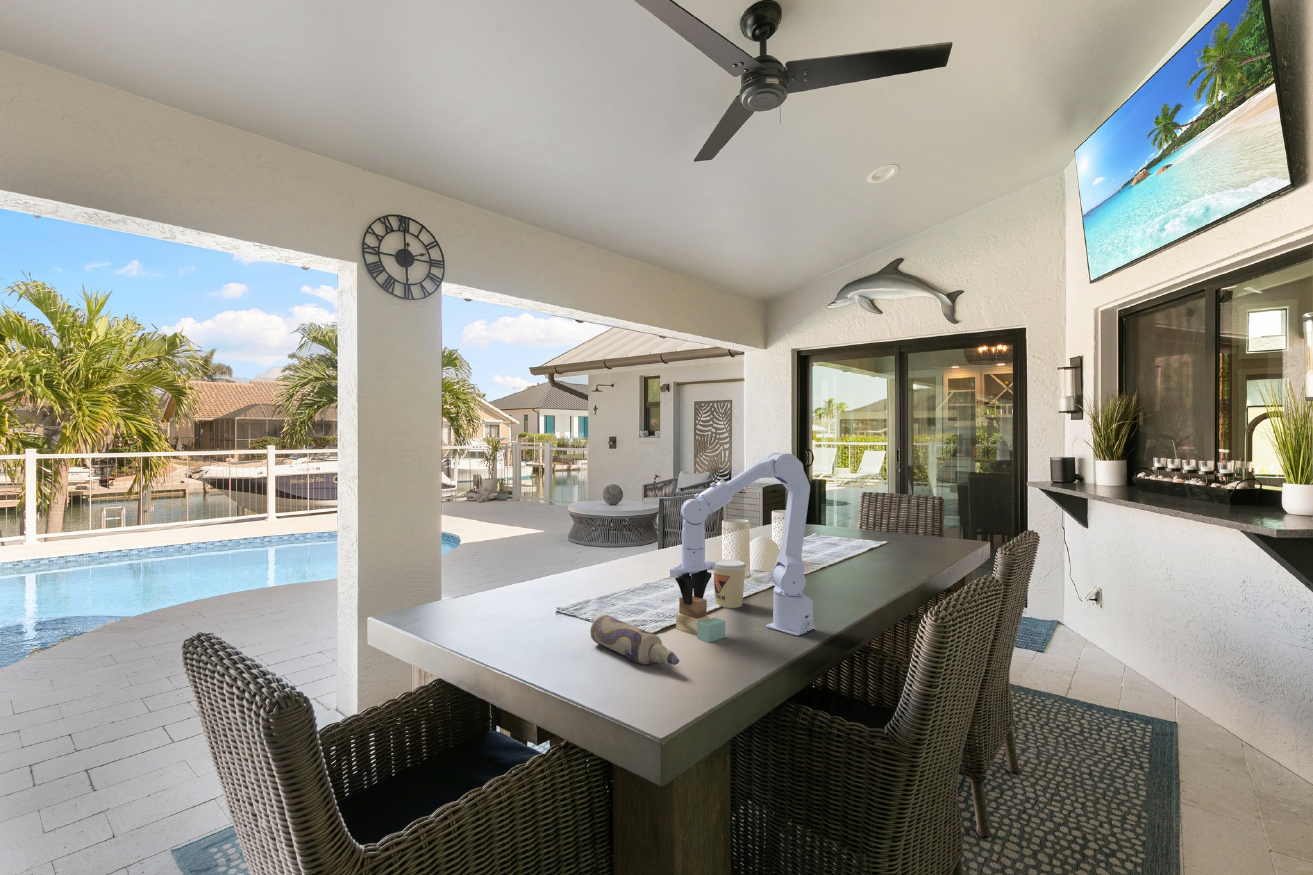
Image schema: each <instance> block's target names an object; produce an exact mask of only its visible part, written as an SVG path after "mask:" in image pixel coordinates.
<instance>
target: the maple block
mask: <svg viewBox="0 0 1313 875" xmlns="http://www.w3.org/2000/svg"><path fill="white" fill-rule="evenodd" d="M708 619H711V617H710V615H709V614H707V616H705V617H701V618H698V619H696V618H693V617H689V616H686V615H683V614H679V612H678V613H676V616H675V621H676V622H675V623H676V624H675V626H676V627H675V629H676V630H678V631H681V632H685V633H688V634H691V635H695V636H698V622H701V621H704V620H708Z"/></svg>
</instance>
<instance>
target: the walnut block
mask: <svg viewBox="0 0 1313 875" xmlns="http://www.w3.org/2000/svg"><path fill="white" fill-rule="evenodd" d="M678 600H679V601H678V602H679V606H678V607H679V608H678V613H679V614H683V615H686V616H689V617H693V618H696V619H698V618H701V617H705V616H707V615H708V614H707V610H708V609H707V608H708V606H707V604H708V603H707V602H708V601H707V599H705V598H703V599H702V598H698V597H694V595H693V596H692V603H691V605H688V604H684V602H683V598H682V596H679V599H678Z"/></svg>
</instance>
